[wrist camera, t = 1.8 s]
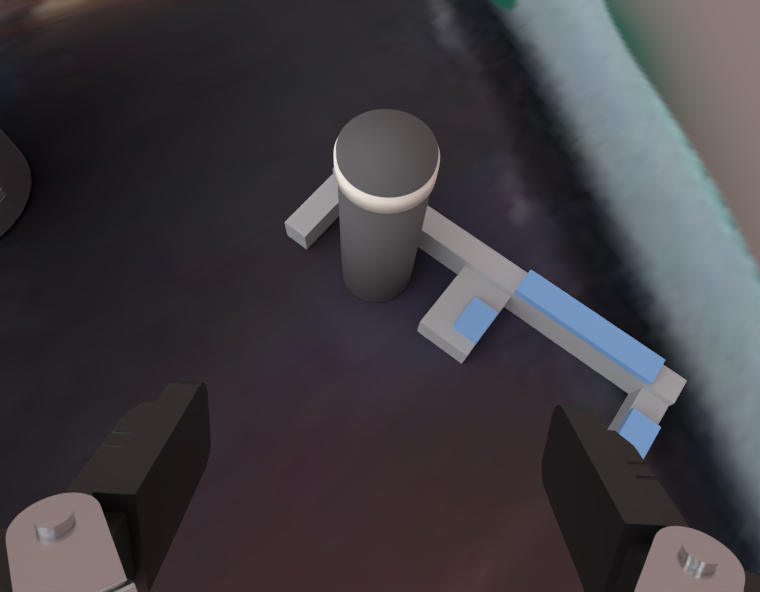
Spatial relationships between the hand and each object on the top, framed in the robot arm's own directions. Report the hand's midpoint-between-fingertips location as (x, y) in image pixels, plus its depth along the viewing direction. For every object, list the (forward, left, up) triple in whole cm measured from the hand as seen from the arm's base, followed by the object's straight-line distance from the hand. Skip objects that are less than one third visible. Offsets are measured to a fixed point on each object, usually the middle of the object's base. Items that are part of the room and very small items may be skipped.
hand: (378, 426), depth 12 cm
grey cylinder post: (-7, +9, -15) cm, 19 cm away
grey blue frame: (-1, +11, -15) cm, 19 cm away
